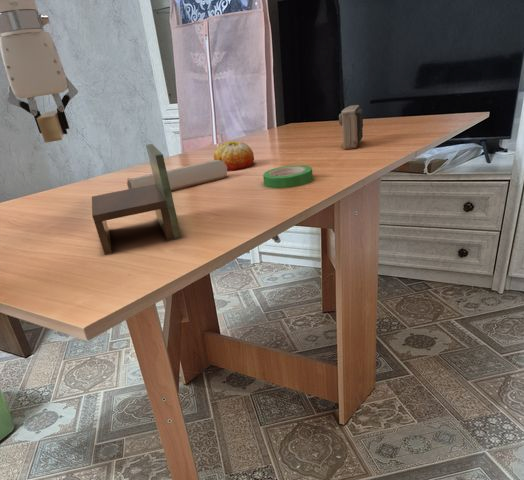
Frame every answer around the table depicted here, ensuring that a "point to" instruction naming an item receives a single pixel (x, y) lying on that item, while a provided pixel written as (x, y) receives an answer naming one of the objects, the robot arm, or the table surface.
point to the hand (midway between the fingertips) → (55, 134)
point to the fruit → (235, 155)
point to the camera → (351, 126)
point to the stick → (50, 126)
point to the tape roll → (288, 176)
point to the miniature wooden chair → (138, 203)
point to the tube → (185, 175)
